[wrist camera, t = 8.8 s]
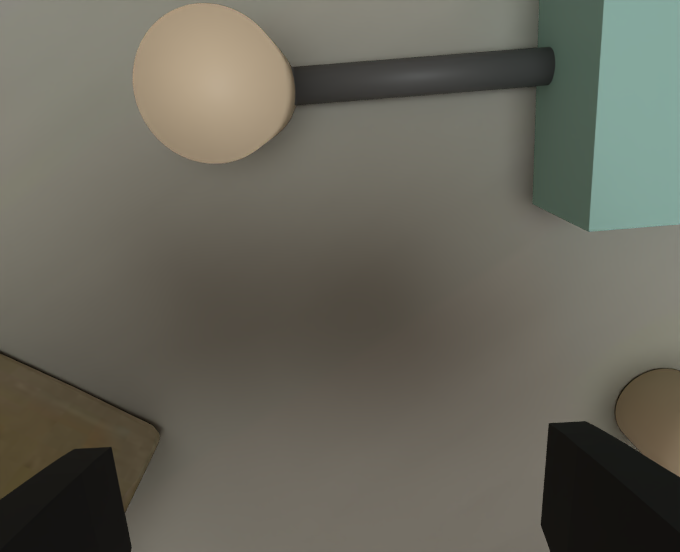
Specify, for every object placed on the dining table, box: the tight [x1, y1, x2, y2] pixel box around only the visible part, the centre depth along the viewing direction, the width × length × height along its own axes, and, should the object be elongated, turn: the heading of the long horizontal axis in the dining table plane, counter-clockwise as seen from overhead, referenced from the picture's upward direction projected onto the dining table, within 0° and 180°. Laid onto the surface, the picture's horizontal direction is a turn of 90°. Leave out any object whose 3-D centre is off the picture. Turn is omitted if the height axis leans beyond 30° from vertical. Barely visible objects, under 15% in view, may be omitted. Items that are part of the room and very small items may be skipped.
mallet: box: [133, 0, 680, 232], centre depth 13 cm, size 8×20×6 cm, turn 94°
